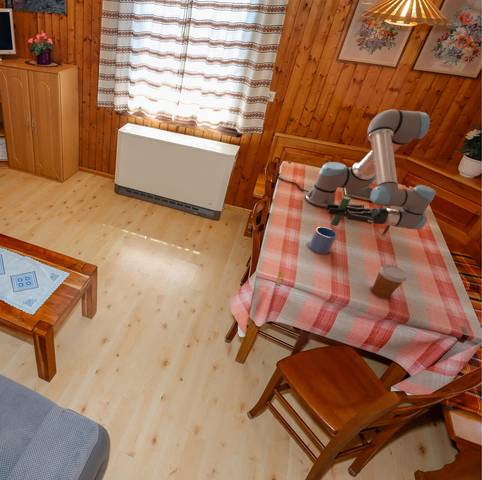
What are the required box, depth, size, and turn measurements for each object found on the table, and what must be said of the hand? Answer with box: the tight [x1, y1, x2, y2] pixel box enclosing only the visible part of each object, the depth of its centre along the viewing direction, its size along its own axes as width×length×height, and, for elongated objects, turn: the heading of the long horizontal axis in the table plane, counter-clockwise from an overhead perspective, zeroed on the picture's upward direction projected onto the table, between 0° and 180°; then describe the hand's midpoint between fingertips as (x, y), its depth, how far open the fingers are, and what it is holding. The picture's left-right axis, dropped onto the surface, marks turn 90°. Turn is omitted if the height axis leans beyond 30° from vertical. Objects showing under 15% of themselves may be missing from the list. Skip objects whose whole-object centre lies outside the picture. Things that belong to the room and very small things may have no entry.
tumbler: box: [308, 226, 338, 255], centre depth 179 cm, size 9×9×10 cm
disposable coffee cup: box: [371, 264, 408, 299], centre depth 154 cm, size 10×10×12 cm
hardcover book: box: [342, 187, 374, 203], centre depth 231 cm, size 16×23×2 cm
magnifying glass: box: [382, 205, 403, 236], centre depth 189 cm, size 9×2×20 cm, turn 63°
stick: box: [330, 195, 352, 227], centre depth 169 cm, size 3×3×14 cm
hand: (328, 208), depth 170 cm, fingers closed on stick, 3 cm apart
